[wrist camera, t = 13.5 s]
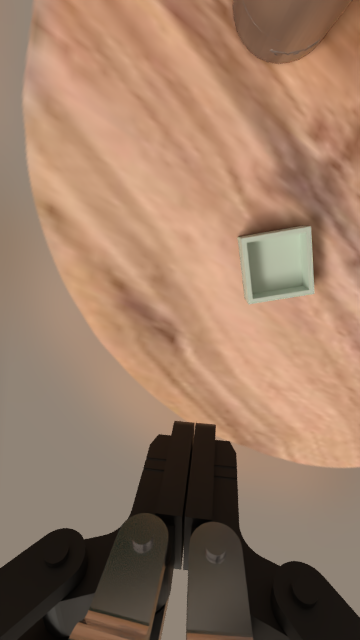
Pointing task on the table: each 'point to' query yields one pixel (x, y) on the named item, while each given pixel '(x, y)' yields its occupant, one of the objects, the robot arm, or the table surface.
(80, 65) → the table surface
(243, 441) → the table surface
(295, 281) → the box
